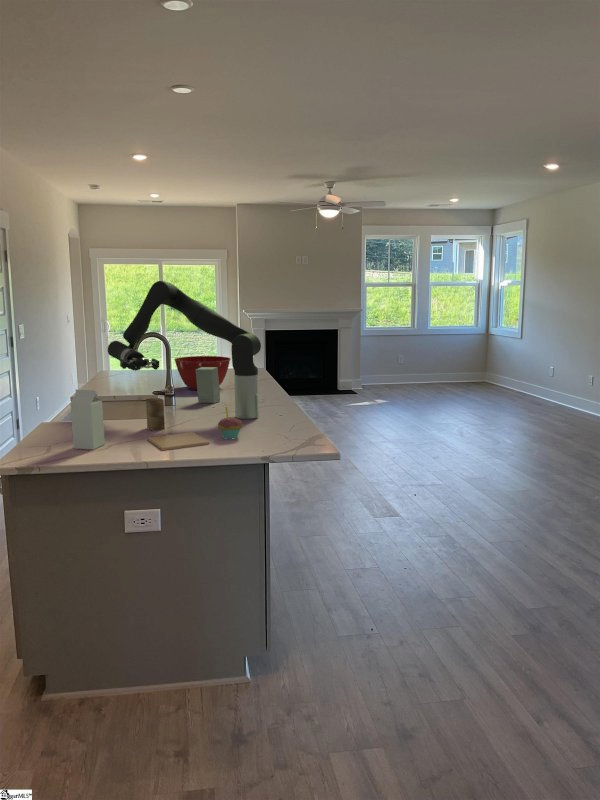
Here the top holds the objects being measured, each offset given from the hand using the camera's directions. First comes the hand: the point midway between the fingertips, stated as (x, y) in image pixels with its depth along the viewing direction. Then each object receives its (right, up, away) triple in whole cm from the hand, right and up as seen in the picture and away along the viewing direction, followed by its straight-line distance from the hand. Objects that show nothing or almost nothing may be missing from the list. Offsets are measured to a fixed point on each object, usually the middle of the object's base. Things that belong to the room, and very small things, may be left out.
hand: (145, 367), depth 233 cm
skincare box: (+17, -14, +46) cm, 51 cm away
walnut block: (+5, -23, -5) cm, 24 cm away
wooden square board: (+17, -26, -24) cm, 40 cm away
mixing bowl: (+9, -6, +85) cm, 85 cm away
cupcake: (+34, -26, -18) cm, 46 cm away
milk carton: (-11, -28, -30) cm, 43 cm away
